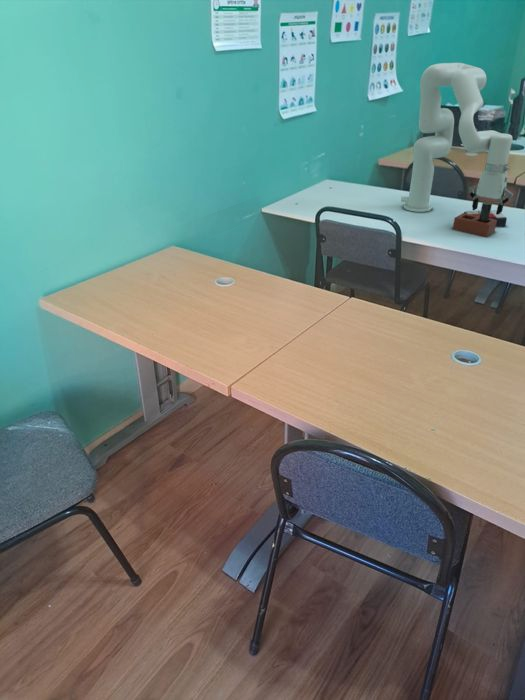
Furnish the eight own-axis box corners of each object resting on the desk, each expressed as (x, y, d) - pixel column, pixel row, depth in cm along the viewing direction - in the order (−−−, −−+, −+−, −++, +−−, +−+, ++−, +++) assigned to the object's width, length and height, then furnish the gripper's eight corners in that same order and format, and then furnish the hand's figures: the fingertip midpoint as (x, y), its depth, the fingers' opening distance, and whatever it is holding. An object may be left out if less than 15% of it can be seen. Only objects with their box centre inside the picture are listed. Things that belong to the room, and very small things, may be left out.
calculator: (464, 210, 228) (499, 208, 226) (462, 219, 230) (497, 218, 228) (470, 217, 218) (507, 216, 217) (469, 227, 220) (505, 226, 219)
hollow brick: (452, 229, 217) (454, 217, 215) (460, 224, 222) (463, 213, 220) (486, 237, 209) (489, 225, 206) (494, 231, 214) (497, 220, 211)
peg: (474, 232, 214) (481, 203, 207) (478, 230, 216) (484, 201, 210) (483, 234, 212) (489, 205, 205) (486, 232, 214) (493, 203, 208)
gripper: (521, 169, 197) (511, 213, 206) (477, 163, 207) (469, 205, 216) (514, 172, 193) (504, 217, 202) (469, 166, 203) (461, 209, 212)
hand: (486, 211), depth 209 cm, fingers open, 9 cm apart
